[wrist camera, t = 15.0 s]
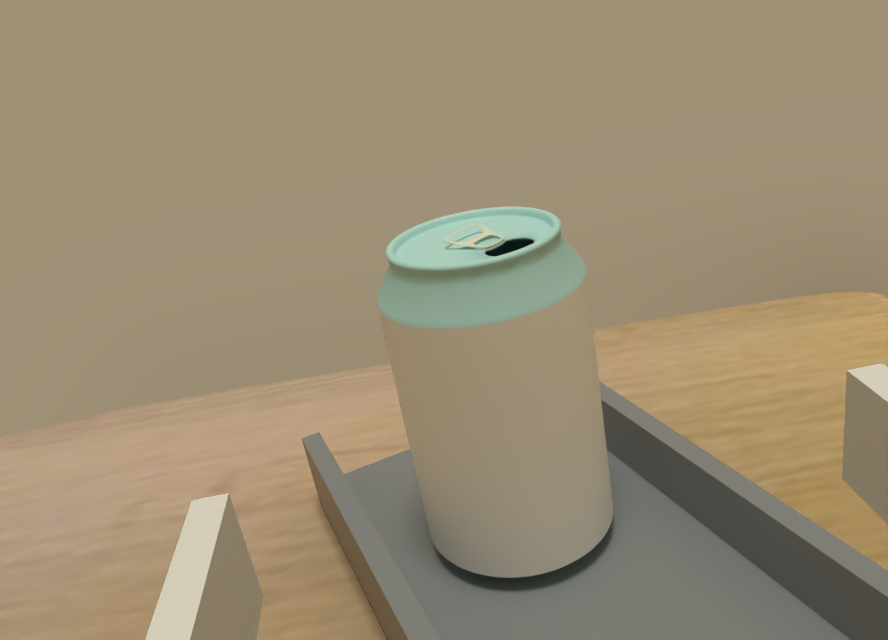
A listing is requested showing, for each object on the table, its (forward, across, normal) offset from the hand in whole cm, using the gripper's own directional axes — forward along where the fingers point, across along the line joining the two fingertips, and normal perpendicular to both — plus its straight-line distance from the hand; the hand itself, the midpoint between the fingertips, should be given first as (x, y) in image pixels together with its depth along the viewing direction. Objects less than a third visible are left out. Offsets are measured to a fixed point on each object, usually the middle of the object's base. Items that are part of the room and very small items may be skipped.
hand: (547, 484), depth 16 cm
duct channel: (+9, +1, -11) cm, 14 cm away
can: (+11, 0, -10) cm, 15 cm away
